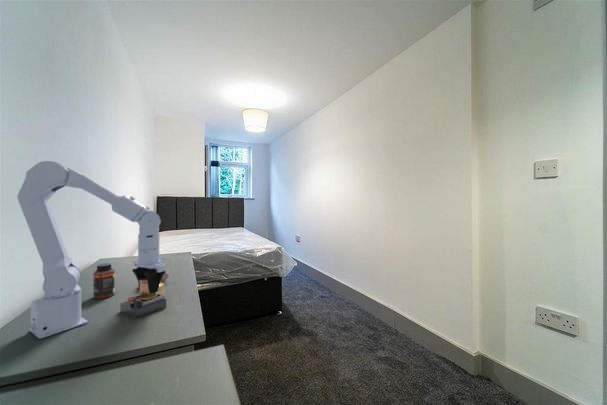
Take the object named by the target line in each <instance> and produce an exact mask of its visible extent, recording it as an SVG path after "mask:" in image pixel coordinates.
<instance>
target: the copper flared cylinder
mask: <svg viewBox="0 0 607 405" xmlns="http://www.w3.org/2000/svg"><path fill="white" fill-rule="evenodd" d="M139 283H140V287H139V295H140V297H139V299H140V300H142V301H145V300H149V299H152V298H155V297H157V292H155V293H152V294H150V293H149V288H148V281H147V278H146V277H145V278H141V279H139ZM139 283H138V284H139Z"/></svg>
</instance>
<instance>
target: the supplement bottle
mask: <svg viewBox="0 0 607 405" xmlns="http://www.w3.org/2000/svg"><path fill="white" fill-rule="evenodd" d="M92 275H93V278H92V280H93V286H92V287H93V288H92V289H93V291H92V292H93V298H94V299H98V300H99V299H101V300H103V299H106V298H110V297H112V296H113V295H115V293H116V280H115V278H116V270H115V269H114V268H112V263H110V262H106V263H100V264H97V265H96V270H95V271H94V273H93V274H92Z"/></svg>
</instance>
